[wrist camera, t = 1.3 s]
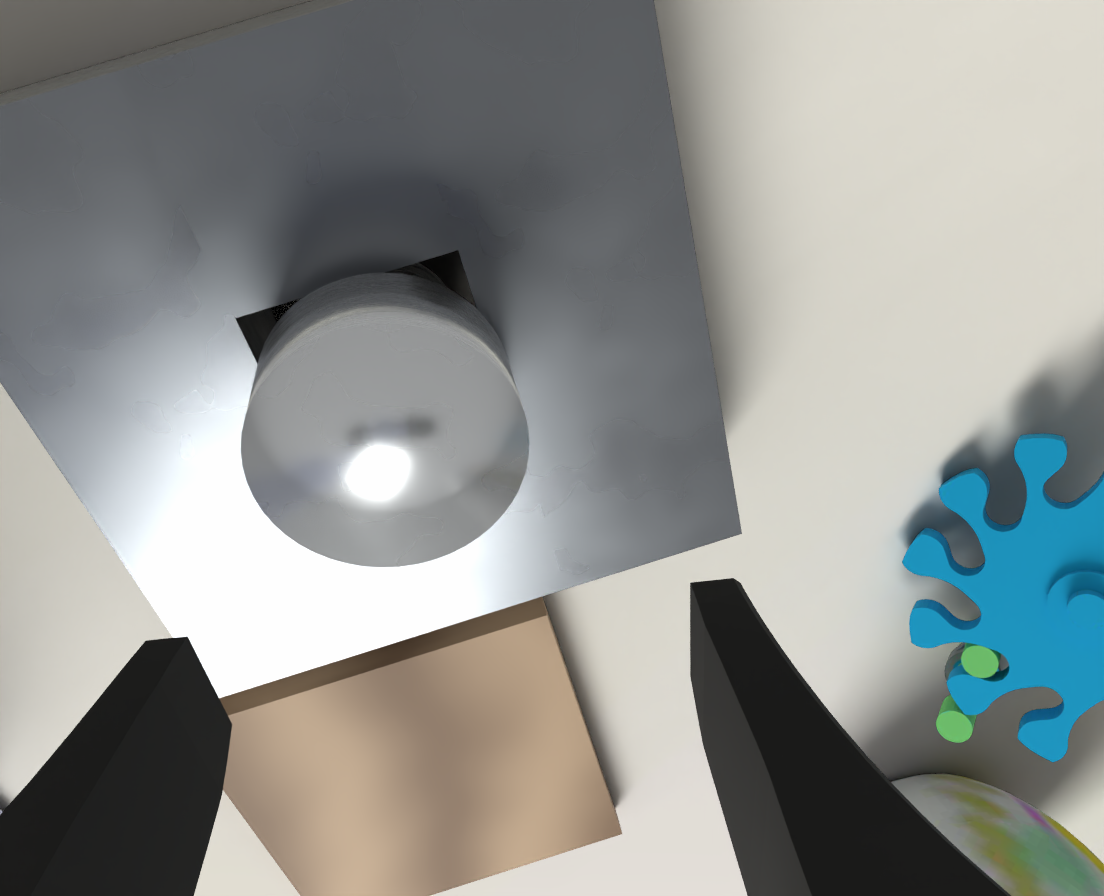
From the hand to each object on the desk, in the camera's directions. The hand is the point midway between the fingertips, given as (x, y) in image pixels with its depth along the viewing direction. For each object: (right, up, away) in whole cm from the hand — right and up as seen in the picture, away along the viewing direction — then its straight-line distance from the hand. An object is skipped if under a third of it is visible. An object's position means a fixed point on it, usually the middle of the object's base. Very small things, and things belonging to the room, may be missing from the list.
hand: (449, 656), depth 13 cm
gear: (+16, 0, +16) cm, 23 cm away
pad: (-3, -7, +16) cm, 18 cm away
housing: (-3, +6, +8) cm, 11 cm away
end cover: (-3, +6, +9) cm, 11 cm away
